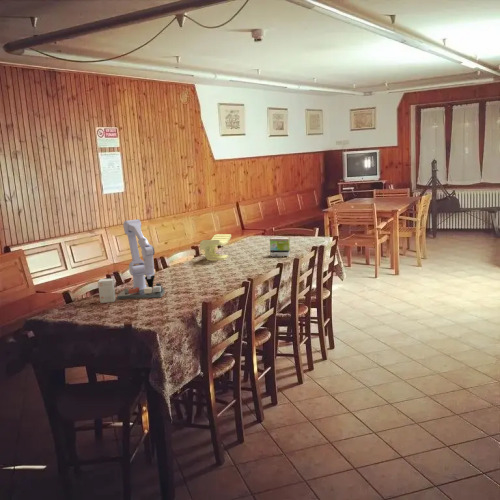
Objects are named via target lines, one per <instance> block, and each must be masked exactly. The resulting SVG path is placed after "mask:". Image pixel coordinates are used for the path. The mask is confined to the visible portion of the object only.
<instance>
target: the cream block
mask: <svg viewBox="0 0 500 500" xmlns="http://www.w3.org/2000/svg"><path fill="white" fill-rule="evenodd" d="M152 289H153V288H152V287H148V286H147V287H145V288H144V294H145V293H152Z"/></svg>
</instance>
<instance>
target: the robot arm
mask: <svg viewBox="0 0 500 500" xmlns="http://www.w3.org/2000/svg"><path fill="white" fill-rule="evenodd" d="M122 226H123V231H124V234H125V235H127V239H128V245H129V249H130V255H131V261H130V262H129V264H128V271H129V274H130V276H132V284H133V285H132V286H133V287H132V289H134V288H136V287H139V290H144V288H145V287H152V289H153V287H154V281H155V277H156V276H155V275H156V273H155V263H154V256H155V247H154V246H153V245H152V244H150V242H149V241H148V238H147V237H144V234H143V232H142V222H141V219H139V218H137V219H130V220H129V219H128V220H124V221H123V225H122ZM138 245H139V246H138ZM139 247H140V250H141V252H140V250H139ZM139 252H140V253H141V256H142V259H141V256H140V253H139ZM146 283H147V284H146Z"/></svg>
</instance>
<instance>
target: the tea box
mask: <svg viewBox="0 0 500 500" xmlns="http://www.w3.org/2000/svg"><path fill="white" fill-rule="evenodd" d="M290 243H291V242H290V236H274V237H273V236H272V237H270V239H269V254H270V257H271V256H272V257H282V256H288V257H289V256H290V254H291V253H290V252H291V251H290V250H291V249H290V247H291V246H290Z"/></svg>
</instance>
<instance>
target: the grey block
mask: <svg viewBox="0 0 500 500" xmlns="http://www.w3.org/2000/svg"><path fill="white" fill-rule="evenodd" d="M161 286H162V285H161ZM161 286H156V285H155V286H154V285H153V288H152V289H153V291H154V292H161Z"/></svg>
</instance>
